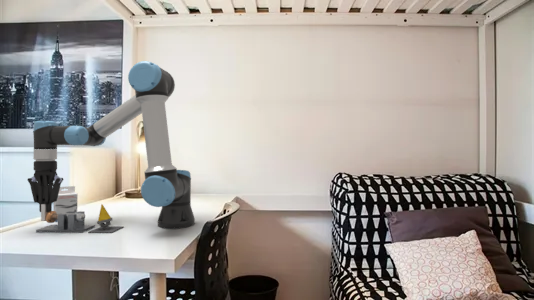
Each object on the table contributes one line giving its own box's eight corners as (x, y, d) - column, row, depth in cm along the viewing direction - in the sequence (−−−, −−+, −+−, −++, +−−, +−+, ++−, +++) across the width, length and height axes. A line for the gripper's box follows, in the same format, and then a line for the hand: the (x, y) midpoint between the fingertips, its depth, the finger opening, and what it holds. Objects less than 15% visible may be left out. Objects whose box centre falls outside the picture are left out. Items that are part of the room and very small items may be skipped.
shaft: (86, 221, 122) (86, 210, 122) (79, 224, 117) (79, 212, 117) (54, 221, 122) (54, 209, 122) (45, 224, 118) (45, 212, 118)
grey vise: (94, 227, 124) (95, 211, 124) (82, 232, 116) (82, 215, 116) (51, 227, 124) (51, 210, 124) (35, 232, 116) (36, 215, 116)
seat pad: (123, 227, 124) (123, 226, 124) (111, 233, 115) (111, 232, 115) (101, 227, 124) (101, 226, 124) (88, 233, 115) (88, 232, 115)
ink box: (55, 221, 134) (55, 188, 134) (53, 220, 137) (53, 187, 137) (77, 218, 139) (77, 186, 140) (75, 217, 143) (75, 185, 143)
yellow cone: (107, 229, 116) (102, 203, 117) (95, 231, 117) (90, 206, 118) (116, 226, 121) (112, 201, 122) (105, 228, 123) (101, 203, 123)
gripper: (68, 160, 124) (68, 218, 124) (36, 160, 124) (36, 218, 124) (54, 160, 116) (54, 222, 116) (21, 160, 117) (21, 222, 117)
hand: (45, 220), depth 120 cm, fingers closed
